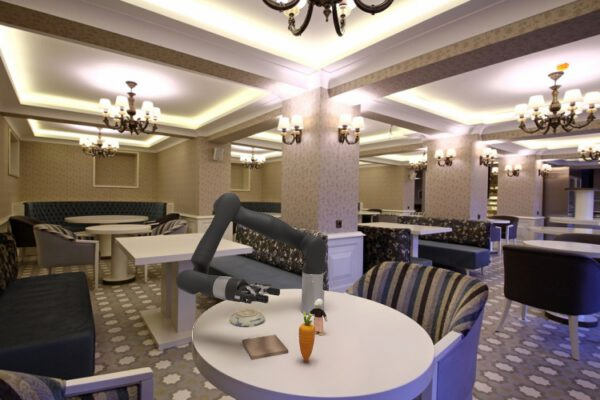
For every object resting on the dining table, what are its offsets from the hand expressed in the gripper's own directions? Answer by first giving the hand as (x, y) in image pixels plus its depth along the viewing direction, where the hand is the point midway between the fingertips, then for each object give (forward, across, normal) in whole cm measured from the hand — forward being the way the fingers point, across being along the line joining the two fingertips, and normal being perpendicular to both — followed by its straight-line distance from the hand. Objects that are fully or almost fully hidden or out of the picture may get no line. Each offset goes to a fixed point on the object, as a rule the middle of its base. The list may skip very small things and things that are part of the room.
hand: (274, 295), depth 98 cm
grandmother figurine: (+9, +22, +18) cm, 30 cm away
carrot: (+12, 0, +19) cm, 22 cm away
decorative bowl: (-21, +22, +19) cm, 36 cm away
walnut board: (-4, +3, +18) cm, 19 cm away
